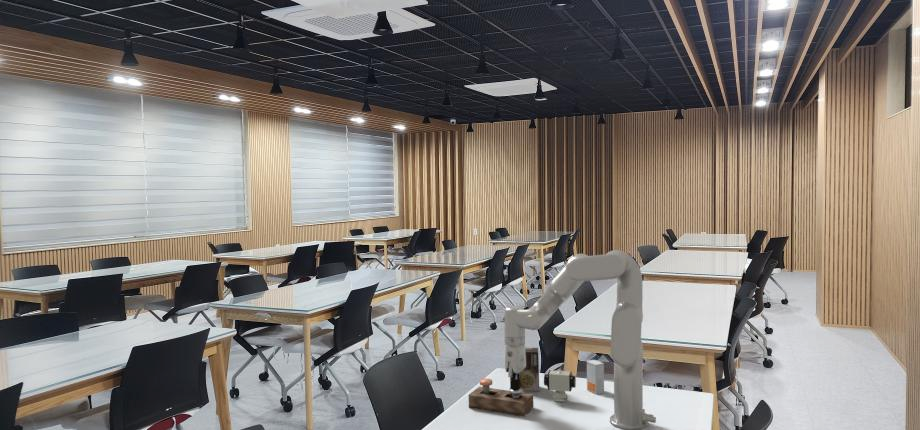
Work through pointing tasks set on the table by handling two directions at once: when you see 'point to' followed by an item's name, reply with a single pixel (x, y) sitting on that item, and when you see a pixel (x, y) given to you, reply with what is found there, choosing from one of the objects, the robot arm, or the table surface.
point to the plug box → (501, 402)
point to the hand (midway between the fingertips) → (515, 389)
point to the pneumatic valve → (560, 383)
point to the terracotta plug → (486, 385)
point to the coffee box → (530, 371)
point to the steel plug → (515, 393)
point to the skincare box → (595, 376)
